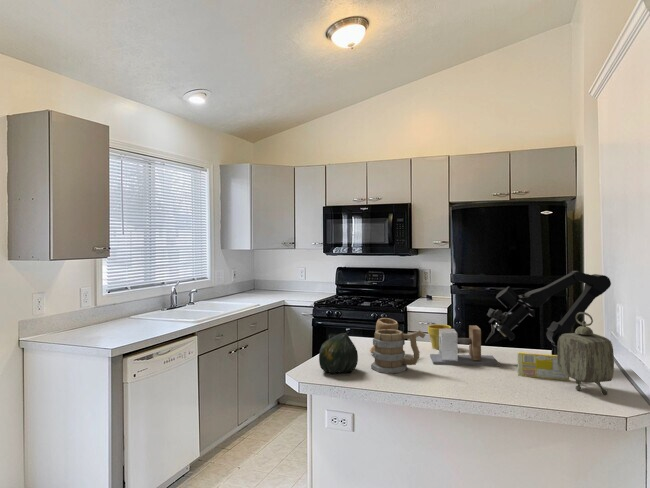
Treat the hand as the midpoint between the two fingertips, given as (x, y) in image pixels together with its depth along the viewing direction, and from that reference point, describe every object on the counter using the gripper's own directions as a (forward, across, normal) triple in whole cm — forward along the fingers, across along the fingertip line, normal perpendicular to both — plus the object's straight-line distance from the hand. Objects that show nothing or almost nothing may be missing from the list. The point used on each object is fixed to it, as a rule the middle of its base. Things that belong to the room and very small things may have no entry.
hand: (486, 343), depth 178 cm
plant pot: (+16, -22, -6) cm, 28 cm away
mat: (+12, 0, -1) cm, 12 cm away
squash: (+46, +19, -35) cm, 61 cm away
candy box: (-5, +19, +16) cm, 26 cm away
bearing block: (+15, 0, -6) cm, 16 cm away
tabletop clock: (-11, +32, +22) cm, 40 cm away
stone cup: (+34, -10, -23) cm, 42 cm away
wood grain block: (+11, 0, -2) cm, 11 cm away
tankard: (+30, +14, -19) cm, 39 cm away
